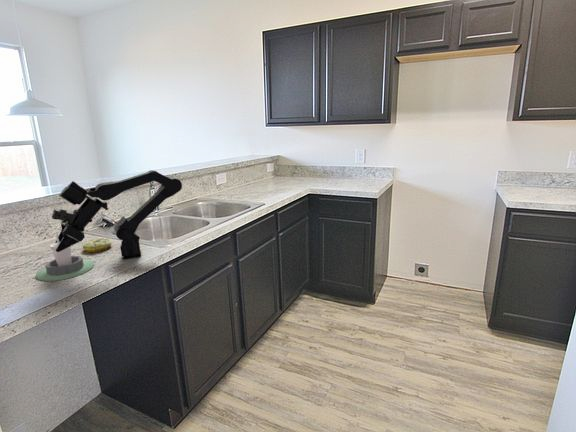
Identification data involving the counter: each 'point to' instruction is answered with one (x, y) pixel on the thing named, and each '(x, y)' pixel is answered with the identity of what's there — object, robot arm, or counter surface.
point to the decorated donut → (97, 245)
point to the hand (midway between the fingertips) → (56, 247)
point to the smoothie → (61, 254)
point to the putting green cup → (64, 269)
